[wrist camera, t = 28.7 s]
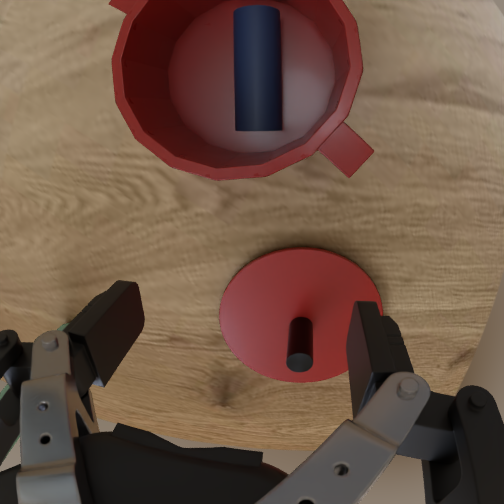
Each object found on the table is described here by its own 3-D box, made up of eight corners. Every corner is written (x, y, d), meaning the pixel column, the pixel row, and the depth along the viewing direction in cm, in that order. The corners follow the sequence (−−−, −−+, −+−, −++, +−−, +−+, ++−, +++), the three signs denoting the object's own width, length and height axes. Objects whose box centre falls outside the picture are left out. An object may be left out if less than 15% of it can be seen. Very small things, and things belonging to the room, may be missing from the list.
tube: (225, 15, 20) (246, 2, 17) (265, 20, 22) (289, 9, 19) (227, 130, 24) (248, 131, 21) (267, 129, 26) (291, 130, 23)
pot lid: (296, 207, 28) (294, 234, 22) (411, 314, 31) (428, 354, 25) (192, 319, 35) (172, 358, 29) (302, 394, 37) (300, 436, 31)
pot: (213, -45, 19) (183, -88, 11) (403, 89, 22) (443, 81, 15) (113, 81, 25) (56, 77, 18) (285, 216, 29) (279, 255, 21)
